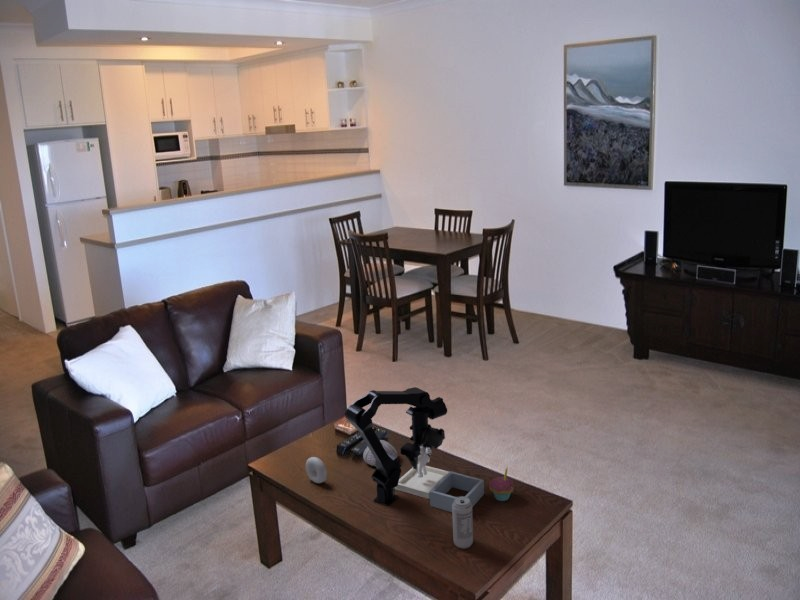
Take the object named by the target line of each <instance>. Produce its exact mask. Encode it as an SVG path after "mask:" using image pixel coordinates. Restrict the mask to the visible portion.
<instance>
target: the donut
mask: <svg viewBox="0 0 800 600" xmlns="http://www.w3.org/2000/svg"><path fill="white" fill-rule="evenodd" d="M305 473H306V474H307V476H308V478H309V479H310V480H311V481H312V482H314V483H315V484H322V483H324V482H325V481H326V479H327V475H328V471H327V468H326V465H325V463H324V462H323V460H321V459H320V458H319V457H316V456H311V457H309V458H308V459H307V460H306V463H305Z"/></svg>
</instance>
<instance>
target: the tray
mask: <svg viewBox="0 0 800 600" xmlns="http://www.w3.org/2000/svg"><path fill="white" fill-rule="evenodd" d="M418 465H419V463H418ZM418 465H417V469H414V470H413V468H412V467H411V468H410V469H409V470H408V471H406V473H405V474H403V475H402V476H400V478H399V482H398V486H396V487H395V491H400V492H404V493H407V494H410V495H414V496H417V497H420V498H423V499H427V500H430V493H429V491H430V490H431V489H432V488H434V487H435V486H436V485H437V484H438V483H439V482H440V481H441V480H442V479H443V478H444V477H445V476H446V475H447V474H448V473H449V472H450V471H448V470H444V469H441V468H436V467H433V466H429V465H426V470H427V475H423V477H422V478H420V477H417V474H418Z"/></svg>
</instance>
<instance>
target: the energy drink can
mask: <svg viewBox="0 0 800 600" xmlns="http://www.w3.org/2000/svg"><path fill="white" fill-rule="evenodd" d="M455 497H456V498H455V499H454V502H453V504H452V512H451V514H452V533H453V534H452V536H453V538H452V539H453V540H452V541H453V544H454V545H455V546H456V547H457V548H458V549H463V550H465V549H469V548H470V547H471V546H472V545H473V543H474V526H473V524H474V523H473V522H474V521H473V507H472V504H471V502H470V499H469V498H467V497H465V496H463V495H460V496H455Z"/></svg>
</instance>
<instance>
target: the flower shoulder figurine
mask: <svg viewBox="0 0 800 600" xmlns="http://www.w3.org/2000/svg"><path fill="white" fill-rule="evenodd" d="M420 450H421V451H420V453H421V454H420V455H419V456H418V464H419V465H418V464H417V465H418V474H417V477H420V478H422V477H423V475H427V470H426V466H427V463H430V458H431V455H432V450H433V449H432V450H431V449H430V448H426V449H425V448H424V447H423V446H420ZM429 453H431V454H429ZM427 454H429V455H430V457H429V456H428V455H427ZM412 468H413V466H412V467H411V469H412ZM413 470H414V468H413Z"/></svg>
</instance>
